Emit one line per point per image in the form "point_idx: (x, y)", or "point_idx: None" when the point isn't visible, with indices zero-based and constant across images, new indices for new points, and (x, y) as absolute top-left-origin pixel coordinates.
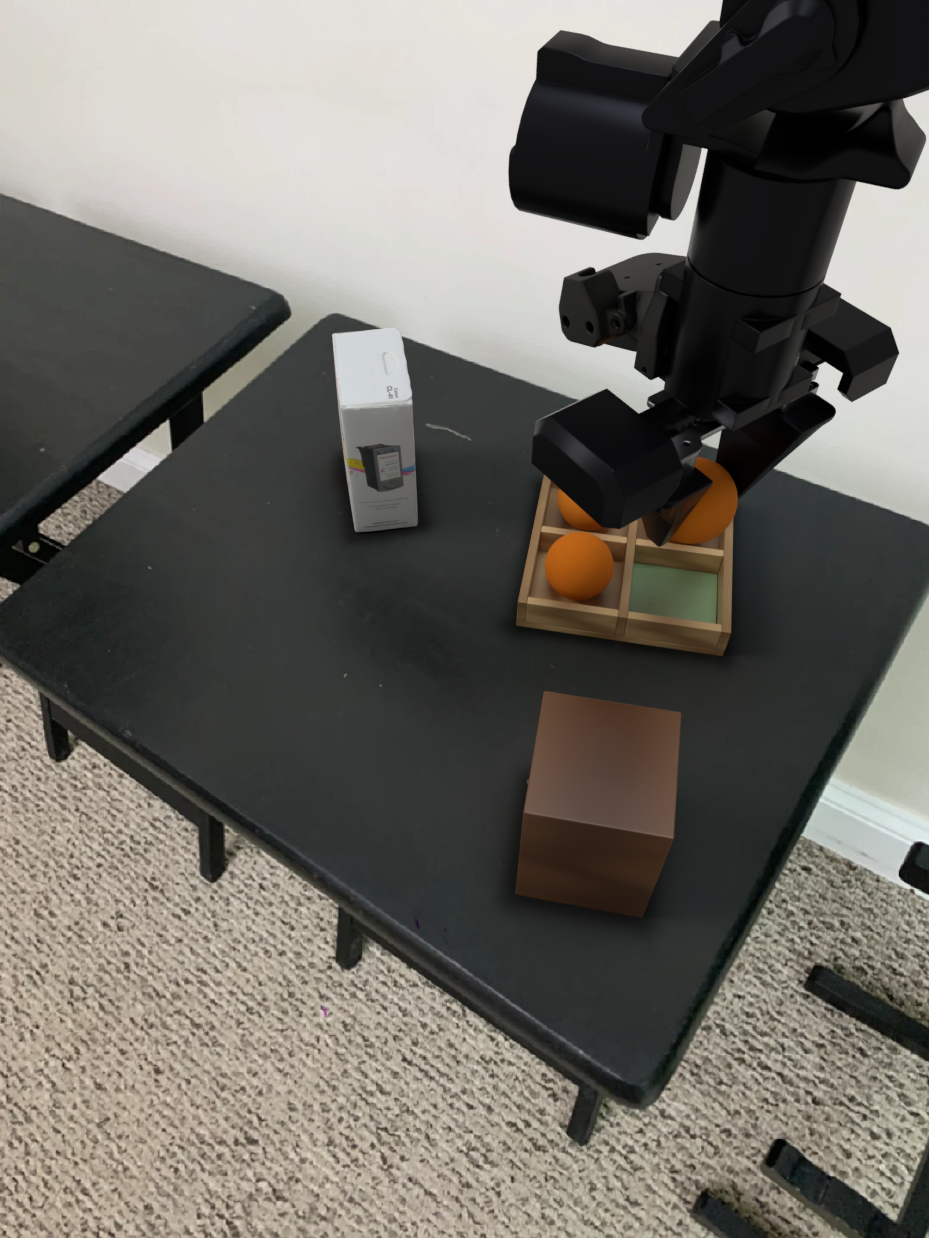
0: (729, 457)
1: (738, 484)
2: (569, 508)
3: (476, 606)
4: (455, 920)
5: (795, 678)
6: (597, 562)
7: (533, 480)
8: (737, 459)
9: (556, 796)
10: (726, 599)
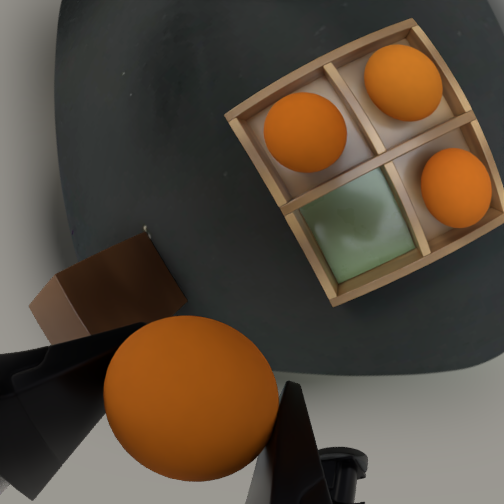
0: (262, 481)
1: (258, 463)
2: (366, 73)
3: (231, 78)
4: (82, 246)
5: (348, 341)
6: (296, 158)
7: (403, 20)
8: (256, 494)
9: (40, 318)
10: (370, 286)
